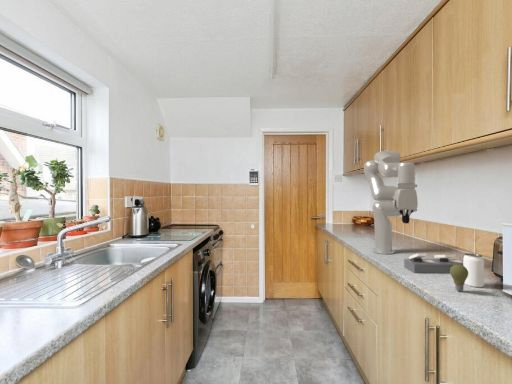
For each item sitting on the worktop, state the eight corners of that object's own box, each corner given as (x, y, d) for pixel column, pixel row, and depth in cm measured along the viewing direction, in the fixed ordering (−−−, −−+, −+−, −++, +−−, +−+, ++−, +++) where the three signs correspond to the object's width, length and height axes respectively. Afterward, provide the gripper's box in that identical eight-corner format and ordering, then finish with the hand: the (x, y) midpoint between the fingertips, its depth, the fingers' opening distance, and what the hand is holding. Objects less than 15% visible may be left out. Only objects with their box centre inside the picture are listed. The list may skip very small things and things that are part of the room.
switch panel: (404, 267, 137) (404, 256, 137) (454, 267, 136) (454, 255, 136) (414, 273, 127) (414, 261, 127) (469, 273, 126) (469, 261, 126)
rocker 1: (409, 259, 136) (408, 256, 136) (417, 259, 136) (417, 256, 136) (418, 255, 128) (417, 253, 128) (427, 255, 127) (426, 253, 128)
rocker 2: (434, 257, 135) (434, 255, 136) (443, 257, 135) (442, 255, 136) (445, 257, 127) (444, 254, 127) (454, 257, 126) (453, 254, 127)
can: (461, 284, 111) (461, 254, 111) (466, 281, 115) (465, 252, 115) (482, 289, 106) (481, 257, 106) (486, 285, 110) (485, 254, 110)
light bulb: (446, 288, 106) (446, 262, 106) (460, 288, 107) (459, 262, 107) (458, 294, 101) (457, 266, 101) (472, 293, 101) (472, 266, 101)
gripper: (417, 186, 143) (416, 221, 144) (387, 187, 144) (387, 222, 145) (425, 186, 136) (424, 224, 137) (394, 187, 136) (393, 224, 137)
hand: (405, 222), depth 141 cm, fingers closed
